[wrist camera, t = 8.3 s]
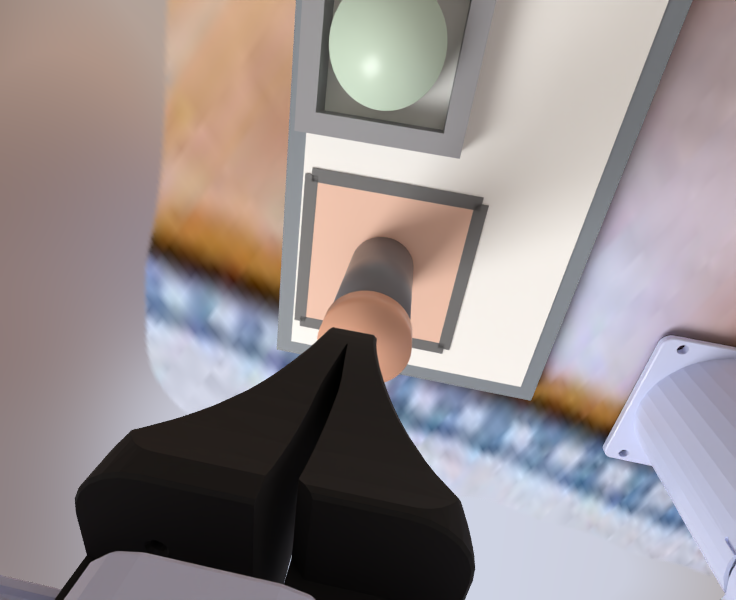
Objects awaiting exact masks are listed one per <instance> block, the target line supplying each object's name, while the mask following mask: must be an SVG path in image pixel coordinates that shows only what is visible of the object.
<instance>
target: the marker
mask: <svg viewBox="0 0 736 600" xmlns="http://www.w3.org/2000/svg"><path fill="white" fill-rule="evenodd" d="M412 285H413V260H412V257H411V255H410V253H409V251H408V250H407V249H406V247H405V246H404V245H402V244H401V243H400V242H398V241H396V240H394V239H391V238H387V237H375V238H371V239H369V240H366V241H365V242H363V243H362V244H360V245H359V246H358V247H357V249H356V250H355V252H354V254H353V256H352V258H351V261H350V263H349V266H348V268H347V271H346V273H345V276H344V278H343V280H342V283H341V285H340V288H339V290H338V293H337V295H336V298H335V300H334V302H333V304H332V305H331V306H330V307H329V309H328V311H327V312H326V314H325V317H324V319H323V322H322V324H321V326H320V329H319V332H318V336H317V340H318V339H319V338H320V337H322V336H323V335H324V334H325V333H326V332H327V331H328V330H329V329H330V328H332V327H335V328H340V329H345V330H350V331H356V332H361V333H366V334H372V335H374V336H375V337H376V338H377V344H376V346H377V355H378V361H379V366H380V370H381V373H382V377H383V380H384V382H387V381H389V380H391V379H393V378H394V377H396V376H397V375H399V374H400V373H401V372H402V371H403V370H404V368H405V367H406V366H407V364H408V362H409V360H410V357H411V351H412V324H411V321H410V319H411V302H412Z"/></svg>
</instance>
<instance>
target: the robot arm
mask: <svg viewBox="0 0 736 600" xmlns="http://www.w3.org/2000/svg"><path fill="white" fill-rule="evenodd" d="M376 344H377V338H376V337H375V336H374V335H372V334H366V333H361V332H356V331H350V330H345V329H340V328H335V327H332V328H330V329H329V330H328V331H327V332H326V333H325V334H324V335H323V336H322V337H320V338H319V339H318V340H317V341H316V342H315V343H314V344H313V345H312V346H310V347H309V348H308V349H307V350H306V351H304V352H303V353H302V354H301V355H300V356H298V357H297V358H296V359H295V360H293V361H292V362H291V363H289V364H288V365H286V366H285V367H284V368H282V369H281V370H279V371H278V372H277V373H275V374H274V375H272V376H271V377H269V378H268V379H266V380H264V381H263V382H261V383H259V384H258V385H256V386H254V387H252V388H251V389H249V390H247V391H245V392H243V393H240V394H238V395H236V396H234V397H232V398H230V399H227V400H225V401H223V402H221V403H219V404H216V405H214V406H211V407H208V408H206V409H203V410H200V411H198V412H195V413H192V414H189V415H186V416H183V417H180V418H176V419H173V420H169V421H166V422H162V423H158V424H154V425H151V426H147V427H143V428H139V429H134V430H132V431H130V432H129V434H127V435H126V436H125V437H124V438H123V439H122V440H121V441H120V442H119V443H118V444H117V445H116V446H115V447H114V448H113V449H112V450H111V451H110V453H109V454H108V455H107V456H106V457H105V458H104V459H103V460H102V462H101V463H100V464H99V465H98V466H97V467H96V468H95V470H94V471H93V472H92V473H91V474H90V475H89V477H88V478H87V479H86V480H85V481H84V482H83V483H82V484H81V486H80V487H79V488H78V491H77V494H76V497H75V507H76V515H77V519H78V522H79V526H80V530H81V534H82V538H83V541H84V545H85V549H86V553H87V556H86V557H85V559H84V560H83V561H82V563H81V564H80V565H79V567H78V568H77V569H76V571H75V572H74V574H73V575H72V576H71V578H70V579H69V580H68V582H67V583H66V585H65V586H64V587H63V589H58V588H54V587H49V586H45V585H41V584H37V583H33V582H28V581H24V580H20V579H15V578H11V577H7V576H3V575H0V600H465V598H466V595H467V593H468V591H469V588H470V586H471V583H472V581H473V576H474V571H475V563H474V562H475V561H474V552H473V546H472V541H471V536H470V532H469V528H468V524H467V521H466V517H465V514H464V510H463V507H462V504H461V501H460V500H459V498H458V497H457V496H456V495H455V494H454V493H453V492H452V491H451V490H450V489H449V488H448V487H447V486H446V485H445V483H444V482H443V481H442V480H441V479H440V478H439V477H438V476H437V475H436V474H435V473H434V471H433V470H432V469H431V467H430V466H429V465H428V464H427V462H426V461H425V460H424V458H423V457H422V455H421V454H420V452H419V451H418V449H417V448H416V446H415V445H414V443H413V442H412V440H411V439H410V437H409V436H408V434H407V432H406V430H405V429H404V427H403V425H402V423H401V421H400V419H399V417H398V415H397V413H396V411H395V409H394V407H393V405H392V402H391V400H390V397H389V395H388V392H387V389H386V386H385V383H384V380H383V377H382V373H381V370H380V366H379V361H378V355H377V346H376ZM682 345H685V346H684V347H683V348H682V349H680V350H677V348H678V347H679V346H682ZM603 450H604V452H605V454H606V455H607V456H609V457H612V458H617V459H622V460H626V461H631V462H636V463H641V464H646V465H651V466H653V468H654V470H655V471H656V473H657V475H658V477H659V478H660V480H661V482H662V484H663V485H664V487H665V489H666V491H667V493H668V494H669V496H670V498H671V500H672V501H673V503H674V505H675V507H676V508H677V510H678V512H679V514H680V515H681V517H682V519H683V521H684V522H685V524H686V526H687V528H688V530H689V531H690V533H691V535H692V537H693V538H694V540H695V542H696V544H697V545H698V547H699V549H700V551H701V552H702V554H703V556H704V558H705V560H706V561H707V563H708V565H709V567H710V568H711V570H712V572H713V574H714V575H715V577H716V579H717V581H718V582H719V584H720V586H721V588H722V590H723V591H724V593H725V595H724V597H723V598H722V599H721V600H736V347H732V346H727V345H722V344H716V343H711V342H706V341H700V340H695V339H690V338H684V337H679V336H674V335H669V336H665V337H663V338H662V339H661V340H660V341H659V342H658V344H657V346H656V348H655V350H654V351H653V353H652V355H651V357H650V359H649V361H648V363H647V365H646V366H645V368H644V370H643V372H642V374H641V376H640V378H639V379H638V381H637V383H636V385H635V387H634V389H633V391H632V393H631V394H630V396H629V398H628V400H627V402H626V404H625V406H624V408H623V409H622V411H621V413H620V415H619V417H618V419H617V421H616V422H615V424H614V426H613V428H612V430H611V432H610V434H609V436H608V437H607V439H606V441H605V443H604V445H603ZM621 450H624V451H622V452H620V451H621ZM291 555H292V559H291ZM290 559H291V562H290ZM289 562H290V565H289ZM288 566H289V569H288ZM287 570H288V572H287ZM286 574H287V575H286ZM285 577H286V579H285ZM284 581H285V582H284Z"/></svg>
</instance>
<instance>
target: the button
mask: <svg viewBox="0 0 736 600" xmlns="http://www.w3.org/2000/svg"><path fill="white" fill-rule="evenodd" d="M446 52H447V27H446V23H445V18H444V16H443V13H442V10H441V8H440V6H439V4H438V2H437V1H436V0H342V1H341V3H340V5H339V6H338V8H337V10H336V12H335V15H334V18H333V21H332V24H331V28H330V35H329V53H330V59H331V64H332V67H333V70H334V73H335V75H336V77H337V79H338V81H339V83H340V84H341V86H342V87H343V89H344V90H345V91H346V92H347V93H348V94H349V95H350V96H351V97H352V98H353V99H354V100H356V101H357V102H358V103H360V104H362V105H364V106H366V107H368V108H371V109H375V110H381V111H393V110H398V109H402V108H405V107H407V106H409V105H411V104H413V103H415V102H416V101H418V100H419V99H421V98H422V97H423V96H424V95H425V94H426V93H427V92H428V91H429V90H430V89H431V88H432V86H433V85H434V83H435V82H436V81H437V79H438V77H439V75H440V73H441V70H442V68H443V65H444V61H445V58H446Z"/></svg>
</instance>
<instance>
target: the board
mask: <svg viewBox="0 0 736 600" xmlns="http://www.w3.org/2000/svg"><path fill="white" fill-rule="evenodd" d="M341 1H342V0H296V10H295V28H294V46H293V65H292V83H291V101H290V119H289V137H288V156H287V174H286V192H285V210H284V228H283V247H282V265H281V283H280V301H279V319H278V338H277V350H282V351H287V352H292V353H297V354H302V353H303V352H304V351H306V350H307V349H308V348H309V347H310V346H312V345H313V344H314V343H315V342H316V341H317V336H318V332H319V329H320V326H321V324H322V322H323V319H324V317H325V314H326V312H327V311H328V309H329V307H330V306H331V305H332V304H333V302H334V300H335V298H336V295H337V293H338V290H339V288H340V285H341V283H342V280H343V278H344V276H345V273H346V271H347V268H348V266H349V263H350V261H351V258H352V256H353V254H354V252H355V250H356V249H357V247H358V246H359V245H360V244H362V243H363V242H365V241H366V240H369V239H371V238H375V237H387V238H391V239H394V240H396V241H398V242H400V243H401V244H402V245H404V246H405V247H406V249H407V250H408V251H409V253H410V255H411V257H412V260H413V285H412V302H411V319H410V321H411V324H412V351H411V357H410V360H409V362H408V364H407V366H406V367H405V368H404V370H403V371H402V372H401V373H400V374H401V375H406V376H411V377H416V378H421V379H426V380H431V381H436V382H441V383H446V384H451V385H456V386H461V387H466V388H471V389H476V390H481V391H486V392H491V393H496V394H501V395H506V396H511V397H516V398H521V399H526V400H531V399H532V397H533V394H534V392H535V389H536V387H537V384H538V382H539V379H540V377H541V374H542V372H543V369H544V367H545V364H546V362H547V359H548V357H549V355H550V352H551V350H552V347H553V345H554V342H555V340H556V337H557V335H558V332H559V330H560V327H561V325H562V322H563V320H564V317H565V315H566V312H567V310H568V308H569V305H570V303H571V300H572V298H573V295H574V293H575V290H576V288H577V285H578V283H579V280H580V278H581V275H582V273H583V270H584V268H585V265H586V263H587V261H588V258H589V256H590V253H591V251H592V248H593V246H594V243H595V241H596V238H597V236H598V233H599V231H600V228H601V226H602V223H603V221H604V218H605V216H606V214H607V211H608V209H609V206H610V204H611V201H612V199H613V196H614V194H615V191H616V189H617V186H618V184H619V181H620V179H621V176H622V174H623V171H624V169H625V167H626V164H627V162H628V159H629V157H630V154H631V152H632V149H633V147H634V144H635V142H636V139H637V137H638V134H639V132H640V129H641V127H642V124H643V122H644V120H645V117H646V115H647V112H648V110H649V107H650V105H651V102H652V100H653V97H654V95H655V92H656V90H657V87H658V85H659V82H660V80H661V77H662V75H663V73H664V70H665V68H666V65H667V63H668V60H669V58H670V55H671V53H672V50H673V48H674V45H675V43H676V40H677V38H678V35H679V33H680V30H681V28H682V26H683V23H684V21H685V18H686V16H687V13H688V11H689V8H690V6H691V3H692V1H693V0H436V1H437V2H438V4H439V6H440V8H441V10H442V13H443V16H444V18H445V23H446V27H447V52H446V58H445V61H444V65H443V68H442V70H441V73H440V75H439V77H438V79H437V81H436V82H435V83H434V85H433V86H432V88H431V89H430V90H429V91H428V92H427V93H426V94H425V95H424V96H423V97H422V98H421V99H419V100H418V101H416V102H415V103H413V104H411V105H409V106H407V107H405V108H402V109H398V110H393V111H381V110H375V109H371V108H368V107H366V106H364V105H362V104H360V103H358V102H357V101H356V100H354V99H353V98H352V97H351V96H350V95H349V94H348V93H347V92H346V91H345V90H344V89H343V87H342V86H341V84H340V83H339V81H338V79H337V77H336V75H335V73H334V70H333V67H332V64H331V59H330V53H329V35H330V28H331V24H332V21H333V18H334V15H335V12H336V10H337V8H338V6H339V5H340V3H341Z"/></svg>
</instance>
